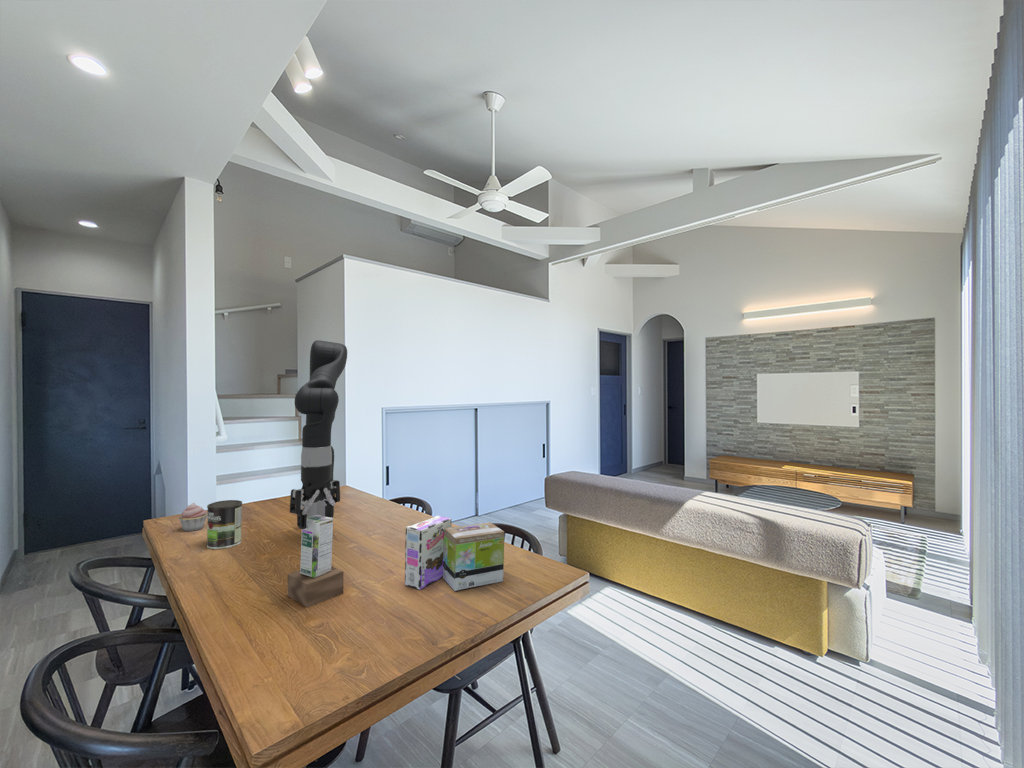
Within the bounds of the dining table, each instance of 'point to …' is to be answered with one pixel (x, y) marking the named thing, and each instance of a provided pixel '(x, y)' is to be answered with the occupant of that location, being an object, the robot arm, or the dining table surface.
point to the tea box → (473, 555)
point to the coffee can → (224, 524)
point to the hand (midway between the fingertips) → (315, 523)
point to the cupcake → (193, 518)
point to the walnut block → (315, 587)
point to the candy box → (425, 551)
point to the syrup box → (316, 546)
